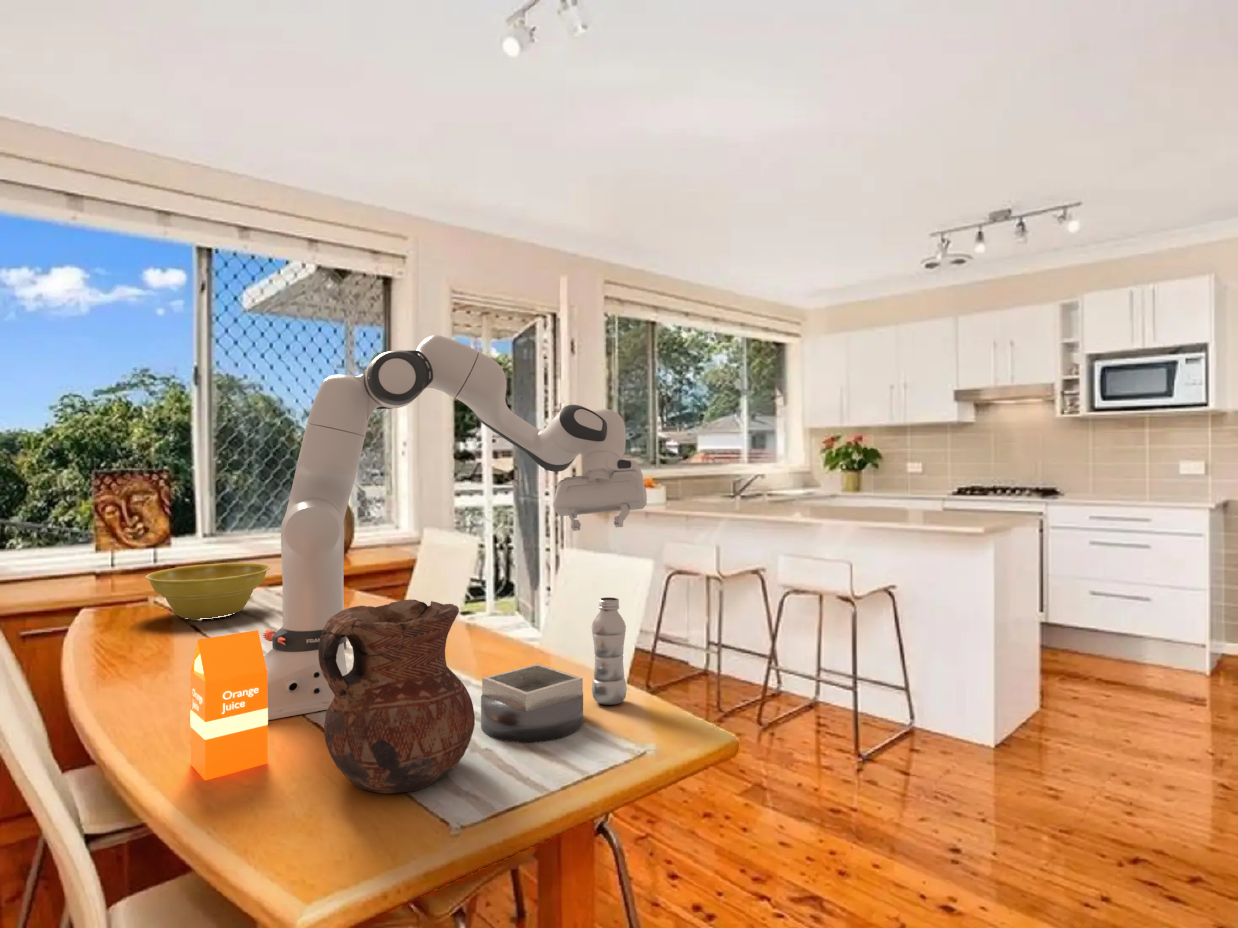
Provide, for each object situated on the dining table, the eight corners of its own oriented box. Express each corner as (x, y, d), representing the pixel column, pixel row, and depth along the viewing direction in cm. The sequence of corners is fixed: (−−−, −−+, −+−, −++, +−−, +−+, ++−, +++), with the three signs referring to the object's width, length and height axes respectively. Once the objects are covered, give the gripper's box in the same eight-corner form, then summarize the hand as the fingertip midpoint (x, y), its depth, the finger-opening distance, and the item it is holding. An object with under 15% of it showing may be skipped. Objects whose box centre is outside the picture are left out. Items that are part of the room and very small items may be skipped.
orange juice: (268, 763, 114) (267, 634, 113) (205, 780, 108) (204, 644, 107) (251, 748, 119) (250, 625, 119) (190, 764, 113) (189, 634, 113)
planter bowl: (116, 626, 204) (116, 577, 204) (201, 603, 235) (200, 561, 235) (221, 631, 198) (220, 581, 198) (293, 606, 230) (292, 563, 230)
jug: (394, 737, 124) (393, 589, 124) (501, 757, 116) (501, 599, 116) (289, 793, 104) (288, 616, 103) (410, 822, 96) (410, 630, 95)
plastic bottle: (623, 709, 138) (623, 603, 137) (587, 707, 139) (588, 601, 139) (629, 698, 144) (629, 596, 144) (595, 696, 145) (595, 595, 145)
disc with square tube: (522, 751, 118) (522, 702, 118) (455, 720, 132) (455, 675, 132) (604, 722, 131) (604, 677, 131) (535, 696, 145) (535, 656, 145)
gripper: (553, 470, 162) (545, 523, 154) (643, 460, 157) (639, 515, 149) (563, 486, 167) (555, 539, 159) (650, 477, 162) (647, 531, 154)
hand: (596, 527), depth 154 cm, fingers open, 8 cm apart
